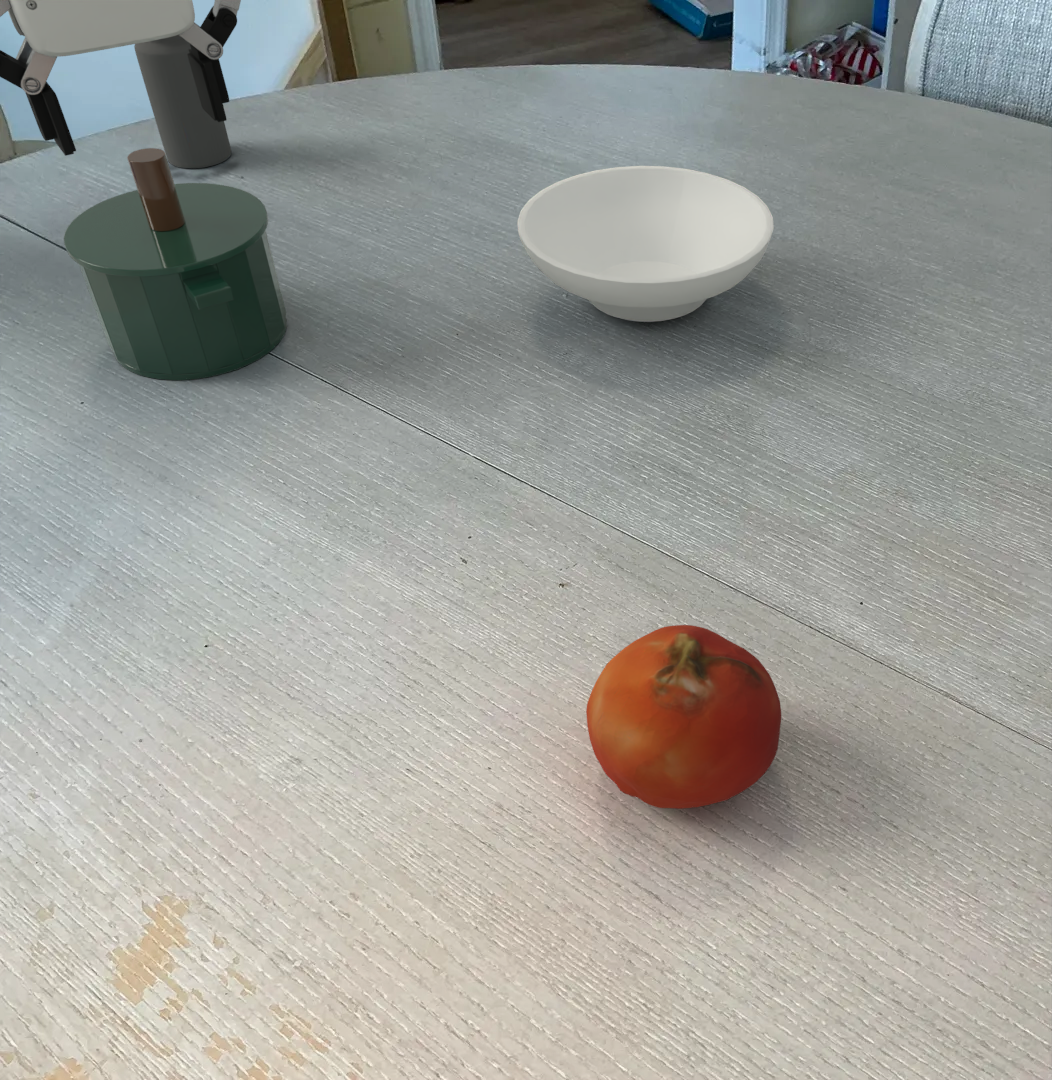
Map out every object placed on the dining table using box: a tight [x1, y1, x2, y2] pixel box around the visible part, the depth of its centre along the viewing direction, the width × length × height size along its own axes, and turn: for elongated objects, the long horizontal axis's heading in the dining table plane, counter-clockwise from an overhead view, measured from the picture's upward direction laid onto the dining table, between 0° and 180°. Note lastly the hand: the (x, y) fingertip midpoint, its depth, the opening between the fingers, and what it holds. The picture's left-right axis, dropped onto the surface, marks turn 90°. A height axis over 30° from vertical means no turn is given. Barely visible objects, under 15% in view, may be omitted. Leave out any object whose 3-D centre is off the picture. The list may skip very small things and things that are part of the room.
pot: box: [78, 229, 288, 381], centre depth 86 cm, size 12×18×8 cm
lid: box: [63, 147, 269, 277], centre depth 81 cm, size 13×13×6 cm
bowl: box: [516, 165, 775, 323], centre depth 92 cm, size 20×20×7 cm
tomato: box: [585, 624, 782, 810], centre depth 57 cm, size 9×9×8 cm
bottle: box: [133, 35, 232, 169], centre depth 107 cm, size 6×6×15 cm
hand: (142, 131), depth 78 cm, fingers open, 9 cm apart
